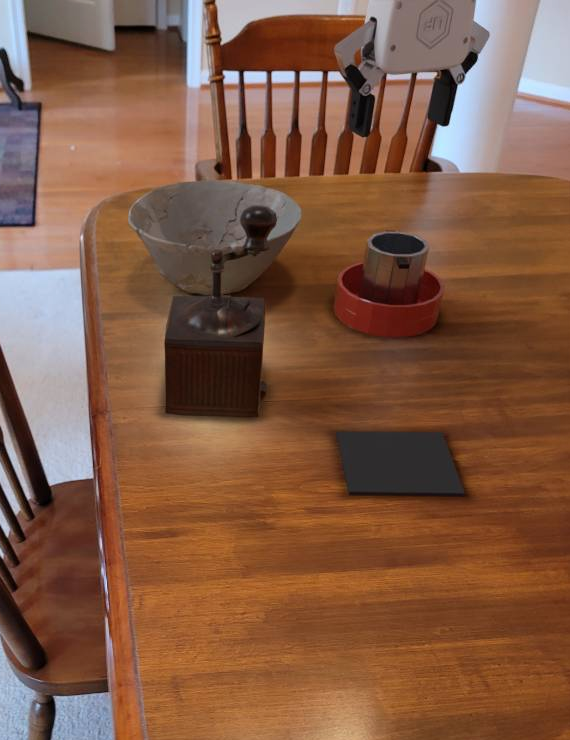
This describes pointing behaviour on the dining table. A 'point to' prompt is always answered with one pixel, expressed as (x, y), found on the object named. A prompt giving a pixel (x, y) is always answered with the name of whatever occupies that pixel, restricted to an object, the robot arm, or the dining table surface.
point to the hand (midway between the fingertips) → (398, 128)
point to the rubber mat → (398, 464)
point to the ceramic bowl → (209, 231)
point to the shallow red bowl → (386, 307)
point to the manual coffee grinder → (219, 339)
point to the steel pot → (393, 268)
